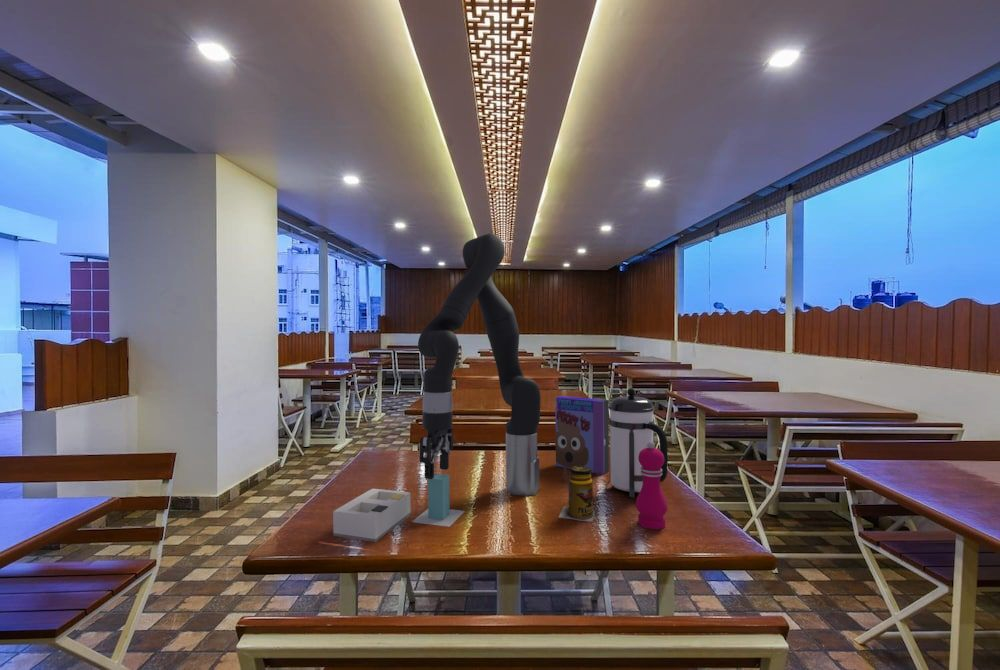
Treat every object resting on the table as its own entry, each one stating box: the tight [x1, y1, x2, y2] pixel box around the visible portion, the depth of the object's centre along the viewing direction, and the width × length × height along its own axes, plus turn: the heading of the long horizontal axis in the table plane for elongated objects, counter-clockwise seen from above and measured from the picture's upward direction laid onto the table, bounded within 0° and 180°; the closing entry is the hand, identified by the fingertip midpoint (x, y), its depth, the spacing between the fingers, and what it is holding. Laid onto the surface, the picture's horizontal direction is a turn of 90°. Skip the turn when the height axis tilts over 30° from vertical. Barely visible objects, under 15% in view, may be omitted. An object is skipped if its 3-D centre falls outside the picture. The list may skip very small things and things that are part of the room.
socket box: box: [332, 488, 411, 543], centre depth 112 cm, size 11×16×6 cm
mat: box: [411, 508, 465, 528], centre depth 117 cm, size 10×10×1 cm
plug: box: [427, 473, 451, 520], centre depth 116 cm, size 4×4×10 cm
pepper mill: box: [635, 441, 668, 530], centre depth 112 cm, size 7×7×20 cm
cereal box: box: [554, 395, 610, 476], centre depth 157 cm, size 17×5×24 cm, turn 55°
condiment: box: [558, 466, 596, 523], centre depth 118 cm, size 7×8×12 cm
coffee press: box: [605, 388, 669, 500], centre depth 134 cm, size 17×16×30 cm
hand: (437, 473), depth 117 cm, fingers open, 8 cm apart
